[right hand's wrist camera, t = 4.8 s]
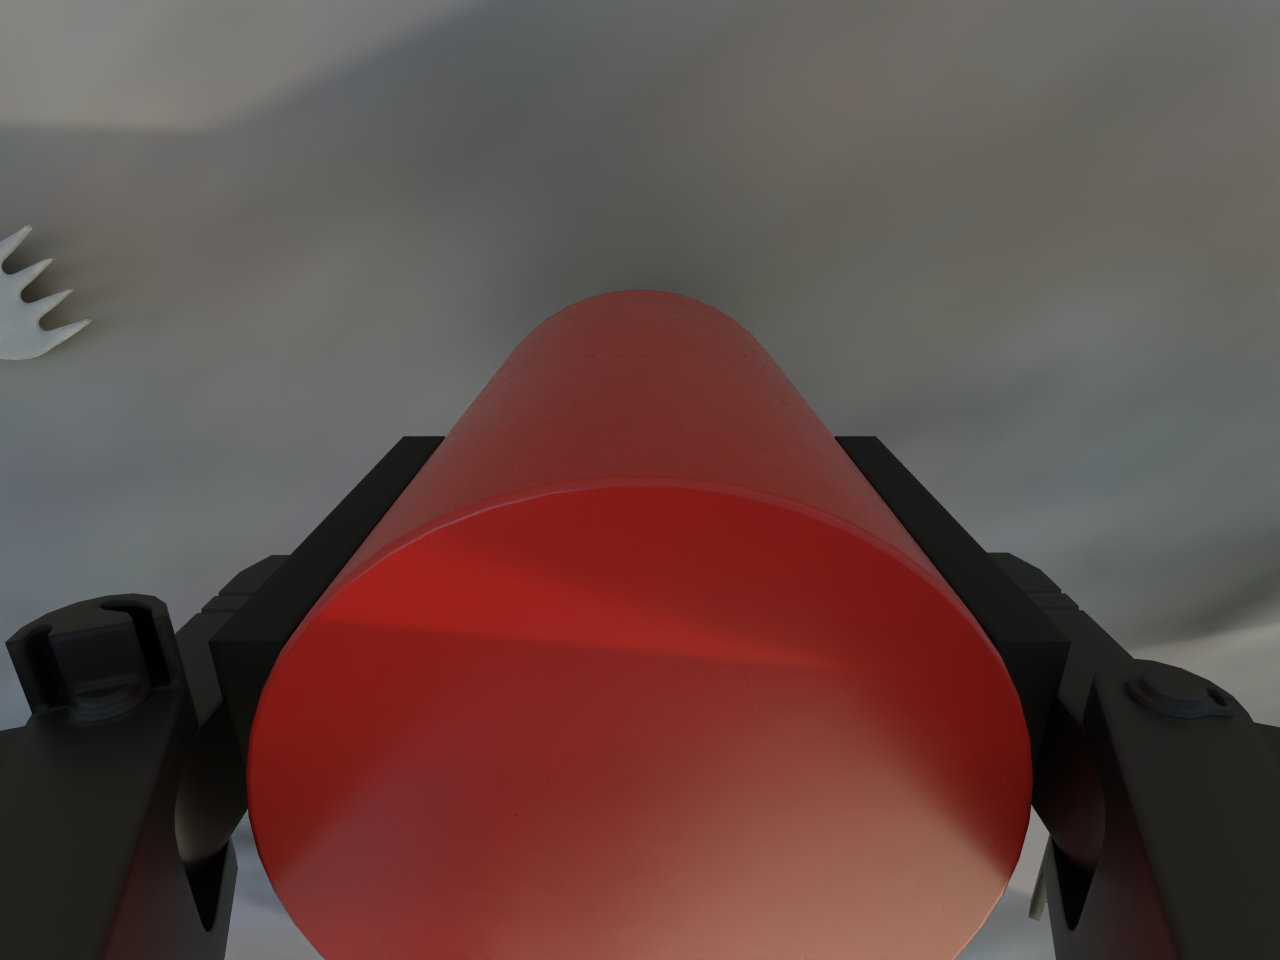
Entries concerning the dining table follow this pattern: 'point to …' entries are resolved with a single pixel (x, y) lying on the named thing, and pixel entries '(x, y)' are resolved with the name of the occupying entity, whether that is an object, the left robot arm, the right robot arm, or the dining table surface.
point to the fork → (27, 309)
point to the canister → (639, 684)
